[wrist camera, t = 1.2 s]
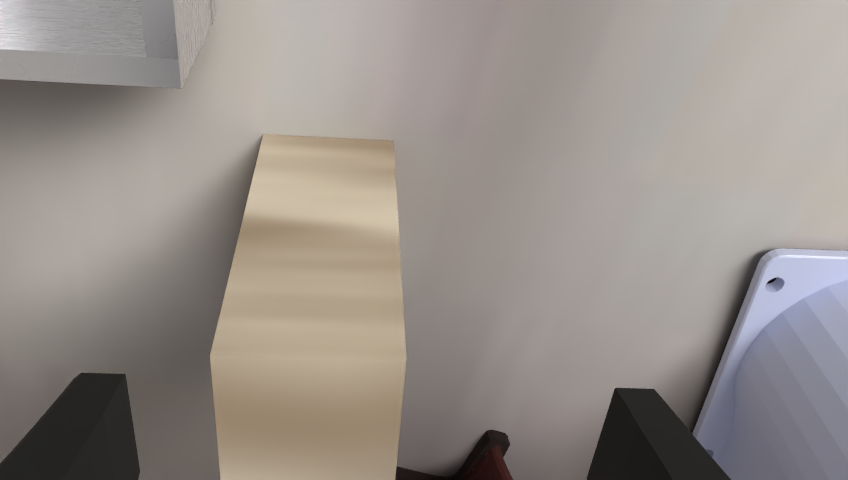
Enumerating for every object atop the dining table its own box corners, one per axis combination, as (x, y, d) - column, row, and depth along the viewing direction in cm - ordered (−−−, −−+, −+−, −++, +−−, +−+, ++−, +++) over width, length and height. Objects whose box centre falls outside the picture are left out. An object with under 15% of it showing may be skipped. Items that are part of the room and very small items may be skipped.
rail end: (386, 246, 22) (394, 487, 15) (266, 242, 21) (221, 485, 15) (393, 140, 20) (406, 359, 13) (263, 134, 20) (210, 355, 13)
